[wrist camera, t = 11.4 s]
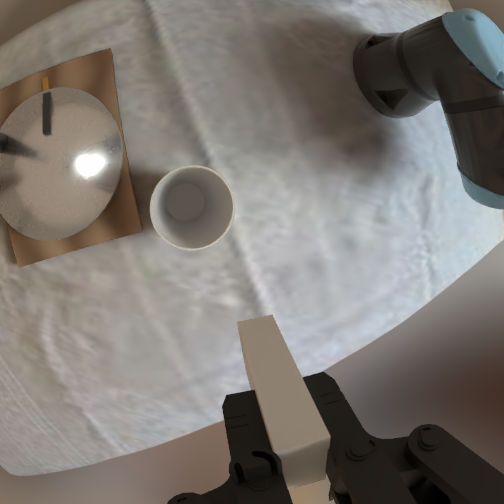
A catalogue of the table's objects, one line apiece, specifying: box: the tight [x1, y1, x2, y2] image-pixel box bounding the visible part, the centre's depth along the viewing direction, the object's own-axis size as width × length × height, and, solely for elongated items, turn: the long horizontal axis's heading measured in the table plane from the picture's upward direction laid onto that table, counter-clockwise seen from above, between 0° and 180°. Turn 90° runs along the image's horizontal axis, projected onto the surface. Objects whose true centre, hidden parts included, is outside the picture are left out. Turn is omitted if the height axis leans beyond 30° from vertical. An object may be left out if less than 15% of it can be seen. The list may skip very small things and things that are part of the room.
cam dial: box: [0, 87, 124, 241], centre depth 23 cm, size 18×18×16 cm
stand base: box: [0, 48, 143, 268], centre depth 31 cm, size 18×24×2 cm
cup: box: [150, 165, 235, 251], centre depth 33 cm, size 8×8×10 cm
